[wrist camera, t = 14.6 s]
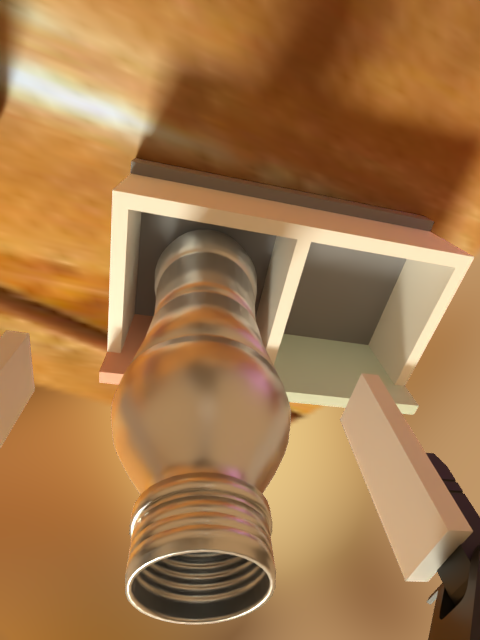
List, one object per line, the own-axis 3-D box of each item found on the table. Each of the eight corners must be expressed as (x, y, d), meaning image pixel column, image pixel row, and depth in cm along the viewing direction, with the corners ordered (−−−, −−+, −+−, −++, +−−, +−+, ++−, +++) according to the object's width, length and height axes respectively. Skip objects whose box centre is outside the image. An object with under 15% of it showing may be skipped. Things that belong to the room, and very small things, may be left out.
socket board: (135, 157, 24) (102, 182, 16) (423, 215, 27) (504, 258, 20) (126, 319, 29) (99, 391, 22) (364, 350, 33) (409, 422, 25)
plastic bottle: (194, 323, 28) (171, 668, 11) (139, 250, 25) (-14, 576, 8) (269, 283, 27) (375, 602, 10) (221, 200, 24) (254, 460, 7)
